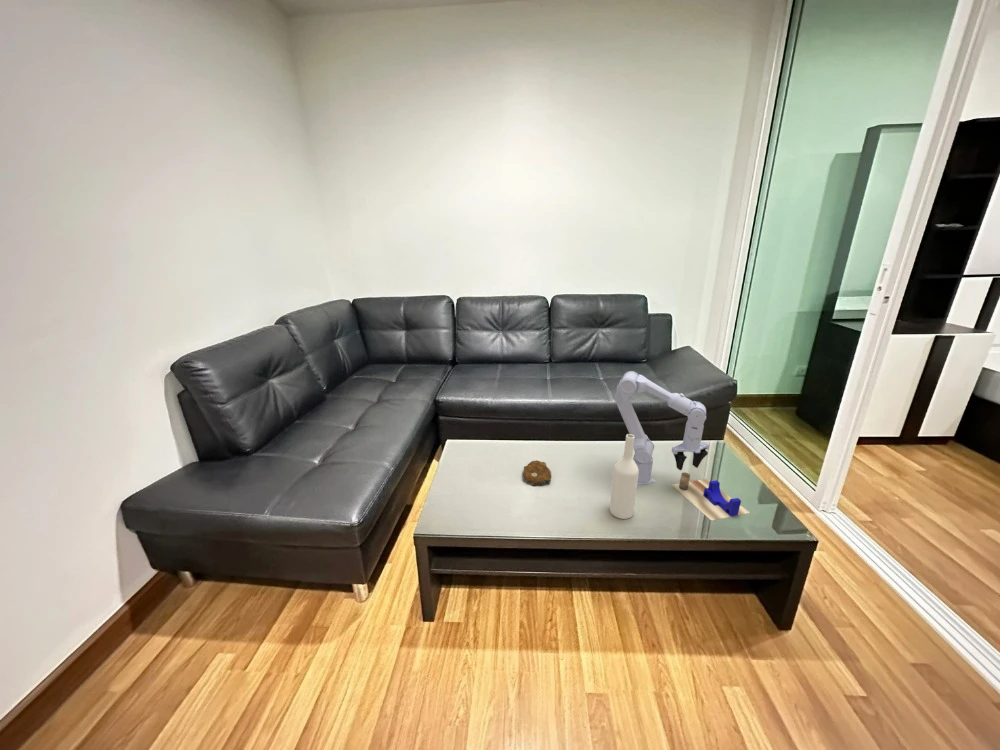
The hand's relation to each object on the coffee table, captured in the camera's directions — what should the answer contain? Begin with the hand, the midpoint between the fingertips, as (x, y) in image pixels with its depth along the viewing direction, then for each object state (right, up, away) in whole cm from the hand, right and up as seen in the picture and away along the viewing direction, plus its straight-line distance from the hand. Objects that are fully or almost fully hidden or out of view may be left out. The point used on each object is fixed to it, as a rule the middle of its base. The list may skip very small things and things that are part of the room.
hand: (687, 467), depth 147 cm
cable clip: (+9, -12, -6) cm, 16 cm away
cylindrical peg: (0, -9, +3) cm, 9 cm away
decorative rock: (-55, -6, +12) cm, 57 cm away
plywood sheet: (+7, -11, -3) cm, 13 cm away
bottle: (-28, -14, -9) cm, 32 cm away
